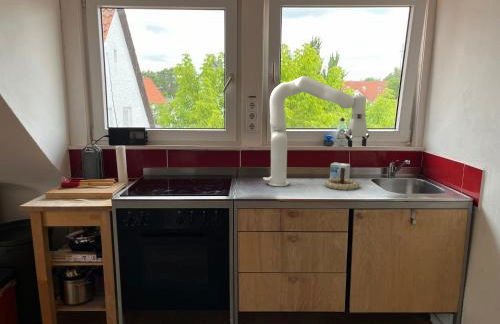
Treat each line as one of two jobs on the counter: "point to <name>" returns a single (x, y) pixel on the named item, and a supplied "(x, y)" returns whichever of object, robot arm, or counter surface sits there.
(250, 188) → the counter surface
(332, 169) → the light bulb box
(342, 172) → the brown peg stand
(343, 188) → the woven wreath ring
